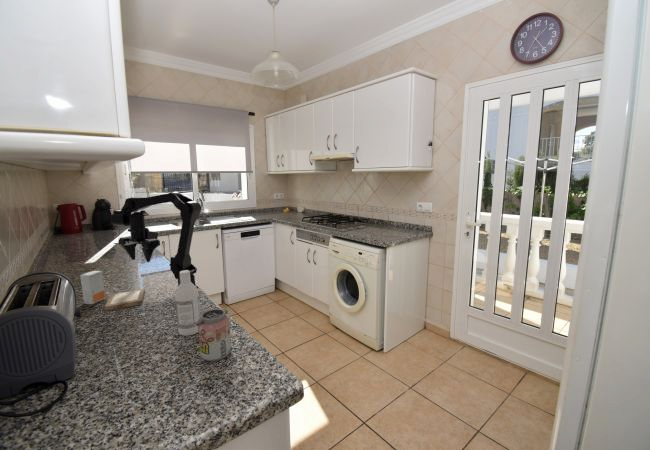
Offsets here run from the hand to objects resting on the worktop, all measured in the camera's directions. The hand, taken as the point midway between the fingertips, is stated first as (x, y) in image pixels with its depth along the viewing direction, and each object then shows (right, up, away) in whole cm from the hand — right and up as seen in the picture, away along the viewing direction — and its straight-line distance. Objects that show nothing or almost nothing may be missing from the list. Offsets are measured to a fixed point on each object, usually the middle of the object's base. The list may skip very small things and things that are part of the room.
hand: (141, 260), depth 134 cm
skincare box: (-12, -15, -11) cm, 22 cm away
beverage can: (+51, -20, -49) cm, 73 cm away
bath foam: (+38, -19, -36) cm, 56 cm away
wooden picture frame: (+1, -15, -11) cm, 19 cm away
